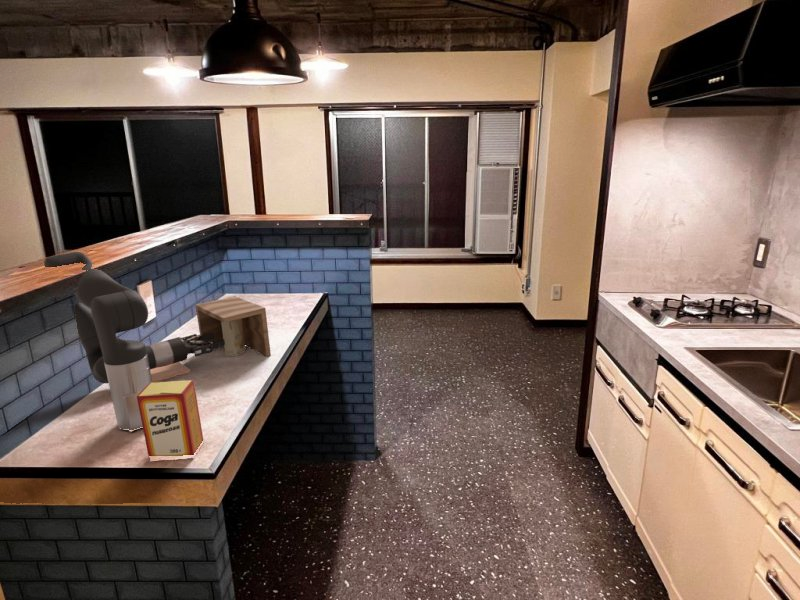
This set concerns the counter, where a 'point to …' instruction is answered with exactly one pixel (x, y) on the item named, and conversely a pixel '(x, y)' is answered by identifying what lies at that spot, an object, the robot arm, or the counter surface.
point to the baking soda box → (170, 418)
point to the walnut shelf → (233, 310)
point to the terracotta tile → (168, 371)
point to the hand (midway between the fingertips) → (218, 338)
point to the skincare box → (233, 337)
